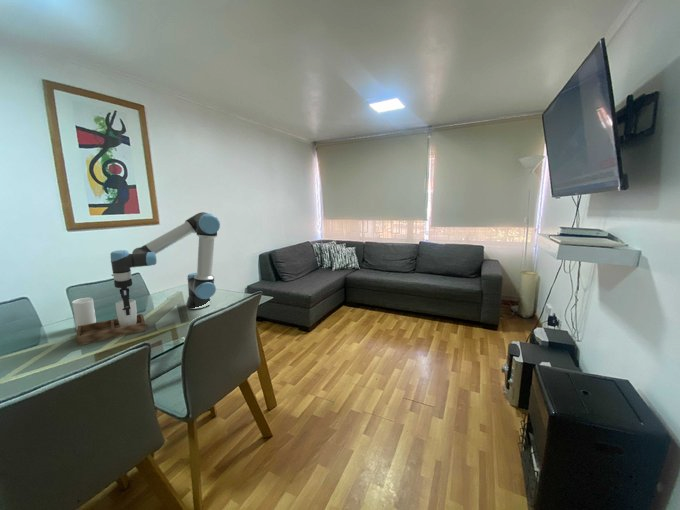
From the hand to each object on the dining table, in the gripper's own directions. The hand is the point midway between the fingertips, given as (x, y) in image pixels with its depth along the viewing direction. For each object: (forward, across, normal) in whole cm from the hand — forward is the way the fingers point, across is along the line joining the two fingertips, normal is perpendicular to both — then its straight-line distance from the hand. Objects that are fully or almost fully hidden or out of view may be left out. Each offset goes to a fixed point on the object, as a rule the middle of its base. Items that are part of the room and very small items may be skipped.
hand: (127, 315), depth 148 cm
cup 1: (+8, -14, -18) cm, 24 cm away
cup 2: (+7, -1, 0) cm, 7 cm away
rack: (+8, 0, -7) cm, 10 cm away
